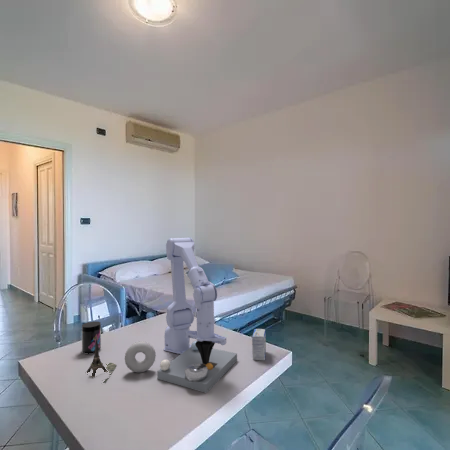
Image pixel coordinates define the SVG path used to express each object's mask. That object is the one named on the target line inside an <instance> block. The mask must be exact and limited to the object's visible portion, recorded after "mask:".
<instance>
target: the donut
mask: <svg viewBox="0 0 450 450" xmlns="http://www.w3.org/2000/svg"><path fill="white" fill-rule="evenodd" d="M138 353H142V354H144V359H143V360H140V361H139V360H137V358H136V355H137V354H138ZM124 354H125V355H124V363H125V365H126V367H127V369H129V370H130V371H131V372H134V373H144V372H146V371H148V370H150V369H151V367H152V366H154V363H155V362H156V357H157V355H156V350H155V349H154V346H153V345H151V343H150V342H147V341H137V342H134V343H132V344H131V345H130V346H128V348H127V350H126V352H125V353H124Z"/></svg>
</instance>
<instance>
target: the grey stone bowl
mask: <svg viewBox="0 0 450 450" xmlns="http://www.w3.org/2000/svg"><path fill="white" fill-rule="evenodd" d="M207 376H208V368H207V366H205V365H203V364H191V365H189V366H187V367H186V368H185V379H186V380H187V381H190V382H200V381H203V380H205V379H206V378H207Z"/></svg>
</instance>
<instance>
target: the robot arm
mask: <svg viewBox="0 0 450 450" xmlns="http://www.w3.org/2000/svg"><path fill="white" fill-rule="evenodd" d="M195 246H196V245H195V241H194V239H193V238H192V237H189V236H188V237H174V238H173V237H169V238H168V239H167V241H166V243H165V250H166V258H167V259H168V260H169V261H170V269H171V284H172V287H171V288H172V299H173V300H172V303H170V304H169V305H168V306H167V308H166V315H165V316H166V317H165V318H166V319H165V321H166V324H167V326H166V328H165V330H164V348H163V351H165V352H170V353H174V354H178V355H181V354H182V353H183V352H185V351H186V350H188V349H189V348H191V345H192V344H191V342H190V341H191V340H190V339H195V340H196V341H197V342H196V343H195V345H196V347H197V348H198V350H199V353H200V355H201V359H202V363H203V364H207V363H208V362H209V358H210V354H211V351H212V348H213V349H214V346H215V344H220V345H221V346H225V345H226V344H227V337H226V336H222V335H220V334H217V333H216V332H215V307H214V306H215V301H216V300H217V298H218V292H217V291H218V290H217V288H216V285H215V284H214V283H212V281H209V279H208V276H207V275H206V271H205V270H204V269H203V268H202V267H200V266H199V264H198V261H197V258H196V255H195ZM184 263H185V265H186V268H187V269H188V273H187V276H188V279H189V281H190V285H192V286H191V287H192V289H193V293H192V296H193V300H194V306H195V309H196V330H190V327H192V324H193V323H194V321H195V313H194V310H193V306H192V303H190V302H188V301H186V300H187V299H186V298H187V297H186V286H185V285H186V283H185V271H184V270H185V269H184Z"/></svg>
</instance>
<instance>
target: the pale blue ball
mask: <svg viewBox="0 0 450 450" xmlns="http://www.w3.org/2000/svg"><path fill="white" fill-rule="evenodd" d="M196 342H197V340H195V341H193V342H192V343H191V344H190V345H191V347H192V349H193V350H195V351H196V350H198V348H197V347H196V345H195V343H196Z"/></svg>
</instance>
